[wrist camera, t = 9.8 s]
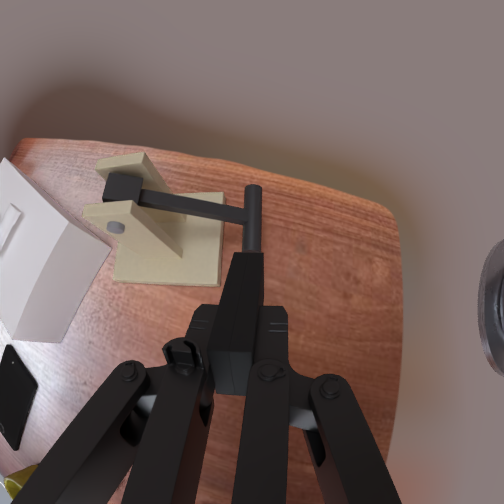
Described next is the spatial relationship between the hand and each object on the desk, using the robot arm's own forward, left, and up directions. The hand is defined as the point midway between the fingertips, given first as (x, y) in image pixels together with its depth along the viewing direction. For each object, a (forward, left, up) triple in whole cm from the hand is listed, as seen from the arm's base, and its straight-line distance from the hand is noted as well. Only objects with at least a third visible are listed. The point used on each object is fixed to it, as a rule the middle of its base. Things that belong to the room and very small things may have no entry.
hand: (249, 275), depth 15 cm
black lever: (+6, -6, -6) cm, 11 cm away
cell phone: (+38, +20, -13) cm, 45 cm away
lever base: (+10, -6, -13) cm, 18 cm away
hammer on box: (+32, -5, -13) cm, 35 cm away
